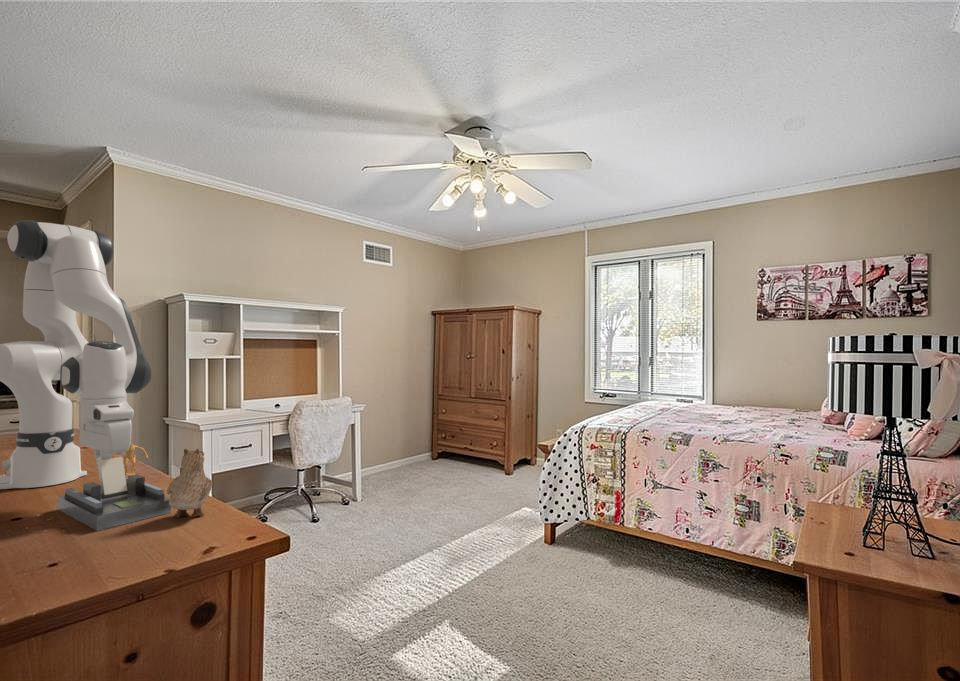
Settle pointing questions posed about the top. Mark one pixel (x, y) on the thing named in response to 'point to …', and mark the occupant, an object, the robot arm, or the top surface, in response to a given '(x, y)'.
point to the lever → (112, 477)
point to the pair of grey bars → (97, 505)
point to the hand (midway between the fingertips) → (103, 468)
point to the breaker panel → (116, 506)
